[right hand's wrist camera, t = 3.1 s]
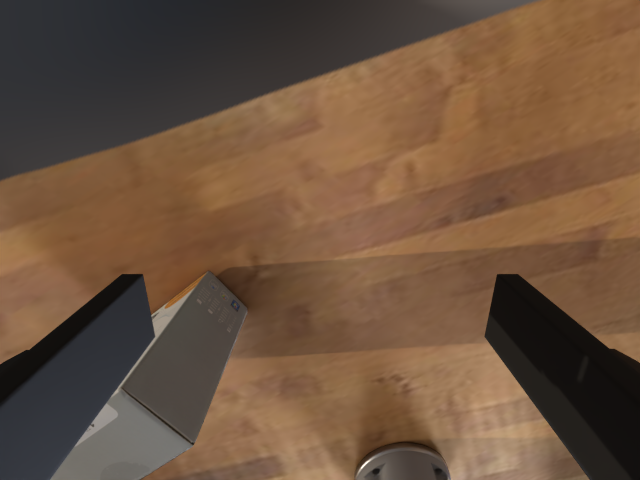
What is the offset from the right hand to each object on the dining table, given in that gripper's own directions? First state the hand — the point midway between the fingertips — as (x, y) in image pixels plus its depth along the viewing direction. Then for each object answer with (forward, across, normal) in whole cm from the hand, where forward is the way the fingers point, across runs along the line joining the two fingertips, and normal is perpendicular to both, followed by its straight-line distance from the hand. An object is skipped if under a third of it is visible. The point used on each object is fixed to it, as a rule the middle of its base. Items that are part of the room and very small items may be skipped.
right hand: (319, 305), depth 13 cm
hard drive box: (+28, +18, +19) cm, 38 cm away
